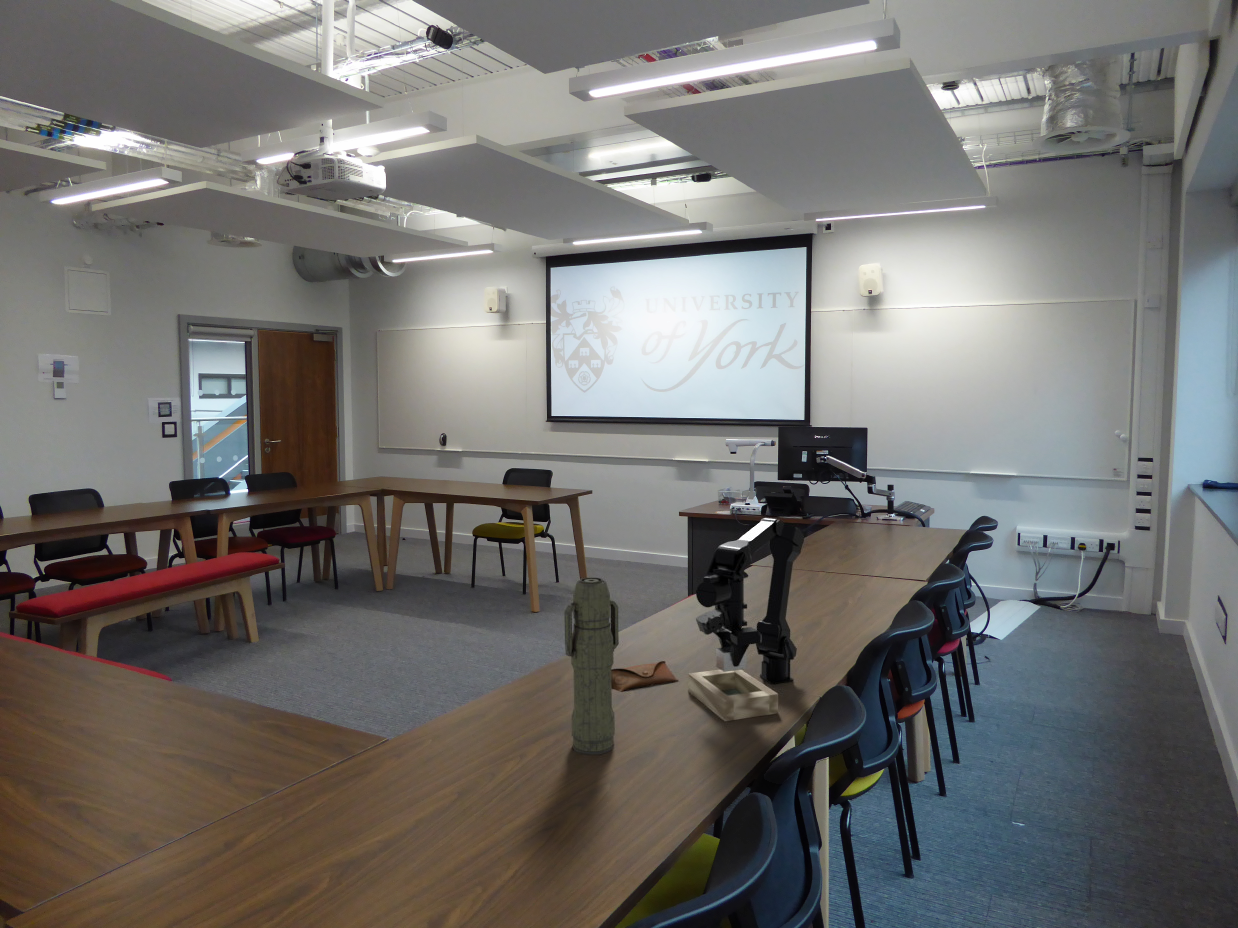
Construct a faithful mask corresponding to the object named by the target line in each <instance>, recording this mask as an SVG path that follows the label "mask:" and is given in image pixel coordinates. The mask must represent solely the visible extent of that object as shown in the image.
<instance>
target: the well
mask: <svg viewBox="0 0 1238 928" xmlns="http://www.w3.org/2000/svg"><path fill="white" fill-rule="evenodd" d="M687 678H688V681H687V683H688V687H687V688H688V689H687V691H688V692H689V694H691V695H692V696H693V697H694V698H696V699H697V700H698V701H700V703H702V704H703V705H704V706H706V708H708V709H709V710H710V711H711V712H713V713H714V714H715V715H716V716H718V717H719V718H720V719H721V720H723V721H724V722H729V721H736V720H741V719H748V718H756V717H760V716H761V717H762V716H768V715H776V714H779V694H778V692H776V691H774V690H773V689H771V688H770V687H768V686H766V685H765V684H763V682H761V681H759V680H758V679H757V678H754V677H753V676H751V674H748V673H747V672H745V671H744V670H743V669H742V670H735V671H728V672H723V671H722V670H720V669H713V670H712V669H711V670H707V671H699V672H690V673H689V672H688V674H687Z"/></svg>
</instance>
